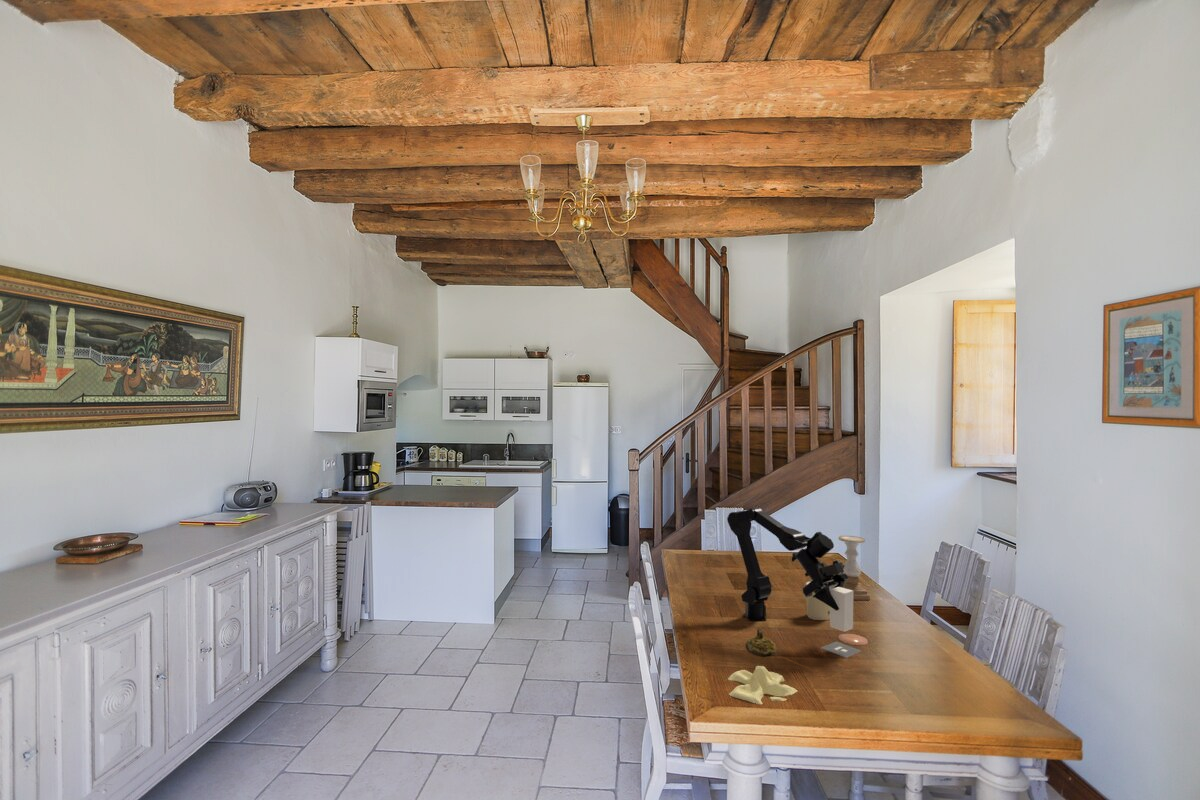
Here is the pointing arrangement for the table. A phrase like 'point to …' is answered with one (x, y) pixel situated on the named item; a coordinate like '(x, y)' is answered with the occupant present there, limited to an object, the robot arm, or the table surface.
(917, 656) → the table surface
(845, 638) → the peach dome
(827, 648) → the gray tile
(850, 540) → the candle holder
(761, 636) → the seal
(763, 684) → the cloth
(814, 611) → the coffee cup
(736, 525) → the robot arm
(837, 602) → the ivory block
